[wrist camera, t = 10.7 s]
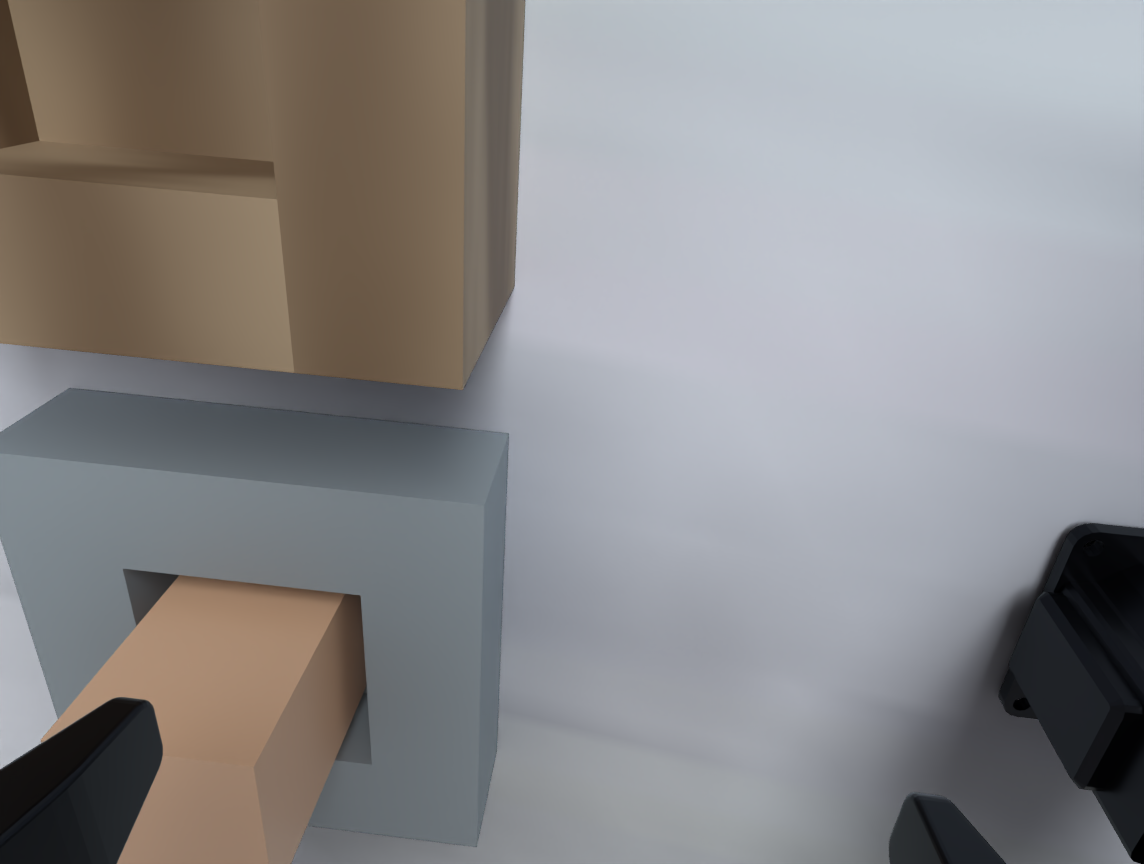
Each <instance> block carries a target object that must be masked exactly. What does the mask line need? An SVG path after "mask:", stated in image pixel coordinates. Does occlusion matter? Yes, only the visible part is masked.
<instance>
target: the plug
mask: <svg viewBox="0 0 1144 864" xmlns="http://www.w3.org/2000/svg"><path fill="white" fill-rule="evenodd" d="M366 685H367V683H366V668H365V653H364V638H363V623H362V608H361V595H352V594H344V593H335V592H326V591H317V590H308V589H299V588H291V587H282V586H273V585H264V584H255V583H246V582H238V581H229V580H220V579H211V578H202V577H193V576H185V575H179V576H178V578H177V579H176V580H175V581H174V582H173V583H172V585H171V586H170V587H169V588H168V589H167V591H166V592H165V593H164V594H163V595H162V597H161V598H160V599H159V600H158V601H157V602H156V604H155V605H154V606H153V607H152V608H151V610H150V611H149V612H148V613H147V614H146V616H145V617H144V618H143V619H142V620H141V621H140V623H139V624H138V625H137V626H136V627H135V629H134V630H133V631H132V632H131V633H130V635H129V636H128V637H127V638H126V639H125V640H124V642H123V643H122V644H121V645H120V646H119V648H118V649H117V650H116V651H115V652H114V654H113V655H112V656H111V657H110V658H109V659H108V661H107V662H106V663H105V664H104V665H103V667H102V668H101V669H100V670H99V671H98V673H97V674H96V675H95V676H94V677H93V679H92V680H91V681H90V682H89V683H88V684H87V686H86V687H85V688H84V689H83V690H82V692H81V693H80V694H79V695H78V696H77V698H76V699H75V700H74V701H73V702H72V703H71V705H70V706H69V707H68V708H67V709H66V711H65V712H64V713H63V714H62V715H61V717H60V718H59V719H58V720H57V721H56V722H55V724H54V725H53V726H52V727H51V728H50V730H49V731H48V732H47V733H46V734H45V736H44V737H43V738H42V739H41V742H44V741H46V740H47V739H49V738H50V737H52V736H53V735H55V734H57V733H58V732H60V731H61V730H63V729H64V728H66V727H68V726H69V725H71V724H72V723H74V722H75V721H77V720H79V719H80V718H82V717H83V716H85V715H86V714H88V713H90V712H91V711H93V710H94V709H96V708H97V707H99V706H101V705H102V704H104V703H105V702H107V701H109V700H111V699H113V698H116V697H127V698H136V699H144V700H147V701H149V702H150V703H151V704H152V705H153V707H154V710H155V715H156V719H157V723H158V727H159V731H160V736H161V740H162V744H163V756H162V761H161V765H160V767H159V770H158V772H157V775H156V777H155V779H154V781H153V784H152V786H151V788H150V790H149V793H148V795H147V797H146V799H145V802H144V804H143V806H142V808H141V811H140V813H139V815H138V817H137V820H136V822H135V824H134V826H133V829H132V831H131V833H130V835H129V838H128V840H127V842H126V844H125V847H124V849H123V851H122V853H121V856H120V858H119V860H118V862H117V864H291V862H292V860H293V858H294V855H295V853H296V851H297V848H298V846H299V844H300V841H301V839H302V837H303V834H304V832H305V829H306V827H307V825H308V822H309V820H310V818H311V815H312V813H313V811H314V808H315V806H316V803H317V801H318V799H319V796H320V794H321V792H322V789H323V787H324V785H325V782H326V780H327V778H328V775H329V773H330V770H331V768H332V766H333V763H334V761H335V759H336V756H337V754H338V752H339V749H340V747H341V744H342V742H343V740H344V737H345V735H346V733H347V730H348V728H349V726H350V723H351V721H352V719H353V716H354V714H355V711H356V709H357V707H358V704H359V702H360V700H361V697H362V695H363V693H364V690H365V688H366Z"/></svg>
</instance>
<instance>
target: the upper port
mask: <svg viewBox="0 0 1144 864" xmlns="http://www.w3.org/2000/svg"><path fill="white" fill-rule="evenodd" d="M524 19H525V0H0V343H3V344H13V345H22V346H32V347H42V348H52V349H62V350H72V351H82V352H92V353H102V354H112V355H121V356H131V357H141V358H151V359H161V360H171V361H181V362H191V363H201V364H210V365H220V366H230V367H240V368H250V369H260V370H270V371H280V372H290V373H299V374H309V375H319V376H329V377H339V378H349V379H359V380H369V381H379V382H388V383H398V384H408V385H418V386H428V387H438V388H448V389H458V390H463V388H464V386H465V384H466V382H467V380H468V378H469V376H470V374H471V373H472V371H473V369H474V367H475V365H476V363H477V361H478V359H479V357H480V355H481V353H482V351H483V349H484V347H485V345H486V343H487V341H488V339H489V337H490V335H491V333H492V331H493V329H494V327H495V325H496V323H497V321H498V319H499V317H500V315H501V313H502V311H503V309H504V307H505V305H506V303H507V301H508V299H509V297H510V295H511V293H512V291H513V289H514V283H515V257H516V230H517V204H518V178H519V151H520V125H521V98H522V72H523V46H524Z"/></svg>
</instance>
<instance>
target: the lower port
mask: <svg viewBox="0 0 1144 864" xmlns="http://www.w3.org/2000/svg"><path fill="white" fill-rule="evenodd" d="M508 441H509V434H508V433H498V432H488V431H479V430H469V429H459V428H450V427H440V426H430V425H421V424H411V423H401V422H392V421H382V420H372V419H362V418H353V417H343V416H333V415H324V414H314V413H304V412H295V411H285V410H275V409H266V408H256V407H246V406H237V405H227V404H217V403H208V402H198V401H188V400H178V399H169V398H159V397H149V396H140V395H130V394H120V393H111V392H101V391H91V390H82V389H72V388H69V389H67V390H66V391H64V392H62V393H61V394H59V395H58V396H56V397H55V398H53V399H52V400H50V401H48V402H47V403H45V404H44V405H42V406H41V407H39V408H38V409H36V410H34V411H33V412H31V413H30V414H28V415H27V416H25V417H23V418H22V419H20V420H19V421H17V422H16V423H14V424H13V425H11V426H9V427H8V428H6V429H5V430H3V431H2V432H0V539H1V542H2V545H3V548H4V551H5V554H6V557H7V561H8V564H9V567H10V570H11V573H12V576H13V579H14V583H15V586H16V589H17V592H18V595H19V598H20V601H21V604H22V608H23V611H24V614H25V617H26V620H27V623H28V626H29V630H30V633H31V636H32V639H33V642H34V645H35V648H36V652H37V655H38V658H39V661H40V664H41V667H42V670H43V673H44V677H45V680H46V683H47V686H48V689H49V692H50V695H51V699H52V702H53V705H54V708H55V711H56V714H57V717H58V719H59V718H60V717H61V715H62V714H63V713H64V712H65V711H66V709H67V708H68V707H69V706H70V705H71V703H72V702H73V701H74V700H75V699H76V698H77V696H78V695H79V694H80V693H81V692H82V690H83V689H84V688H85V687H86V686H87V684H88V683H89V682H90V681H91V680H92V679H93V677H94V676H95V675H96V674H97V673H98V671H99V670H100V669H101V668H102V667H103V665H104V664H105V663H106V662H107V661H108V659H109V658H110V657H111V656H112V655H113V654H114V652H115V651H116V650H117V649H118V648H119V646H120V645H121V644H122V643H123V642H124V640H125V639H126V638H127V637H128V636H129V635H130V633H131V632H132V631H133V630H134V629H135V627H136V626H137V625H138V624H139V623H140V621H141V620H142V619H143V618H144V617H145V616H146V614H147V613H148V612H149V611H150V610H151V608H152V607H153V606H154V605H155V604H156V602H157V601H158V600H159V599H160V598H161V597H162V595H163V594H164V593H165V592H166V591H167V589H168V588H169V587H170V586H171V585H172V583H173V582H174V581H175V580H176V579H177V578H178V576H179V575H185V576H193V577H202V578H211V579H220V580H229V581H238V582H246V583H255V584H264V585H273V586H282V587H291V588H299V589H308V590H317V591H326V592H335V593H344V594H352V595H361V608H362V623H363V638H364V653H365V668H366V683H367V685H366V688H365V690H364V693H363V695H362V697H361V700H360V702H359V704H358V707H357V709H356V711H355V714H354V716H353V719H352V721H351V723H350V726H349V728H348V730H347V733H346V735H345V737H344V740H343V742H342V744H341V747H340V749H339V752H338V754H337V756H336V759H335V761H334V763H333V766H332V768H331V770H330V773H329V775H328V778H327V780H326V782H325V785H324V787H323V789H322V792H321V794H320V796H319V799H318V801H317V803H316V806H315V808H314V811H313V813H312V815H311V818H310V820H309V822H308V825H307V826H313V827H321V828H329V829H337V830H344V831H352V832H360V833H368V834H376V835H384V836H392V837H400V838H408V839H416V840H424V841H431V842H439V843H447V844H455V845H463V846H471V847H477V843H478V838H479V834H480V829H481V824H482V819H483V814H484V810H485V805H486V800H487V795H488V791H489V786H490V781H491V776H492V771H493V767H494V762H495V757H496V752H497V732H498V705H499V679H500V653H501V626H502V600H503V573H504V547H505V521H506V494H507V468H508Z"/></svg>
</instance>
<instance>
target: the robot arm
mask: <svg viewBox="0 0 1144 864" xmlns="http://www.w3.org/2000/svg"><path fill="white" fill-rule="evenodd" d="M1093 540H1096V541H1095V543H1094V544H1093V545H1091V546H1089V547H1084V546H1085V544H1086V543H1088V542H1090V541H1093ZM1019 698H1022V699H1019ZM999 699H1000V701H1001V703H1002V705H1003V707H1004V709H1005V711H1006V712H1007V713H1009V714H1010V715H1013V716H1017V717H1025V718H1034V719H1038V720H1039V722H1040V724H1041V726H1042V727H1043V729H1044V731H1045V733H1046V735H1047V736H1048V738H1049V740H1050V742H1051V744H1052V746H1053V747H1054V749H1055V751H1056V753H1057V755H1058V756H1059V758H1060V760H1061V762H1062V764H1063V766H1064V767H1065V769H1066V771H1067V773H1068V775H1069V776H1070V778H1071V779H1072V780H1073V782H1074V783H1075V784H1076V785H1077V786H1078V788H1079V789H1085V790H1092V791H1093V793H1094V795H1095V796H1096V798H1097V800H1098V802H1099V803H1100V805H1101V807H1102V809H1103V810H1104V812H1105V814H1106V816H1107V817H1108V819H1109V821H1110V823H1111V824H1112V826H1113V828H1114V830H1115V831H1116V833H1117V835H1118V837H1119V838H1120V840H1121V842H1122V844H1123V846H1124V847H1125V849H1126V851H1127V853H1128V854H1129V856H1130V858H1131V859H1132V860H1133V861H1134V862H1137V863H1141V864H1144V529H1142V528H1132V527H1122V526H1113V525H1103V524H1094V523H1092V524H1083V525H1080V526H1078V527H1076V528H1075V529H1073V530H1072V531H1070V533H1069V534H1068V536H1067V537H1066V539H1065V542H1064V544H1063V546H1062V549H1061V551H1060V553H1059V555H1058V558H1057V560H1056V562H1055V565H1054V567H1053V569H1052V572H1051V574H1050V576H1049V578H1048V581H1047V583H1046V585H1045V588H1044V590H1043V592H1042V594H1041V595H1040V596H1039V597H1038V598H1037V599H1036V602H1035V604H1034V606H1033V608H1032V611H1031V613H1030V615H1029V618H1028V620H1027V622H1026V625H1025V627H1024V629H1023V632H1022V634H1021V636H1020V638H1019V641H1018V643H1017V645H1016V648H1015V650H1014V652H1013V655H1012V657H1011V659H1010V662H1009V670H1008V673H1007V675H1006V677H1005V680H1004V682H1003V684H1002V687H1001V689H1000V691H999ZM1017 699H1019V700H1017ZM162 756H163V744H162V740H161V736H160V731H159V727H158V723H157V719H156V715H155V710H154V707H153V705H152V704H151V703H150V702H149V701H147V700H144V699H136V698H127V697H116V698H113V699H111V700H109V701H107V702H105V703H104V704H102V705H101V706H99V707H97V708H96V709H94V710H93V711H91V712H90V713H88V714H86V715H85V716H83V717H82V718H80V719H79V720H77V721H75V722H74V723H72V724H71V725H69V726H68V727H66V728H64V729H63V730H61V731H60V732H58V733H57V734H55V735H53V736H52V737H50V738H49V739H47V740H46V741H44V742H42V743H41V744H39V745H38V746H36V747H35V748H33V749H31V750H30V751H28V752H27V753H25V754H24V755H22V756H20V757H19V758H17V759H16V760H14V761H13V762H11V763H9V764H8V765H6V766H5V767H3V768H2V769H0V864H117V862H118V860H119V858H120V856H121V853H122V851H123V849H124V847H125V844H126V842H127V840H128V838H129V835H130V833H131V831H132V829H133V826H134V824H135V822H136V820H137V817H138V815H139V813H140V811H141V808H142V806H143V804H144V802H145V799H146V797H147V795H148V793H149V790H150V788H151V786H152V784H153V781H154V779H155V777H156V775H157V772H158V770H159V767H160V765H161V761H162ZM889 860H890V864H1006V863H1005V862H1004V861H1003V859H1002V858H1001V857H1000V856H999V855H998V854H997V853H996V852H995V850H994V849H993V848H992V847H991V846H990V845H989V844H988V842H987V841H986V840H985V839H984V838H983V837H982V836H981V835H980V833H979V832H978V831H977V830H976V829H975V828H974V827H973V825H972V824H971V823H970V822H969V821H968V820H967V819H966V818H965V816H964V815H963V814H962V813H961V812H960V811H959V810H958V808H957V807H956V806H955V805H954V804H953V803H952V802H951V801H950V800H948V799H947V798H946V797H944V796H940V795H933V794H924V793H916V792H915V793H910V794H909V795H908V796H907V797H906V799H905V800H904V803H903V805H902V808H901V810H900V813H899V816H898V818H897V821H896V823H895V826H894V828H893V831H892V833H891V836H890V841H889Z"/></svg>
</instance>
